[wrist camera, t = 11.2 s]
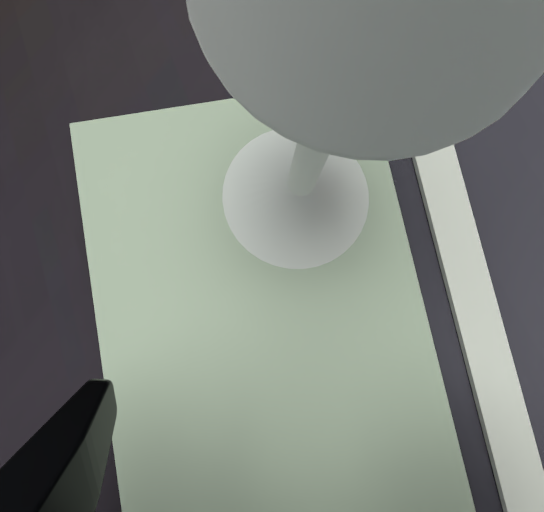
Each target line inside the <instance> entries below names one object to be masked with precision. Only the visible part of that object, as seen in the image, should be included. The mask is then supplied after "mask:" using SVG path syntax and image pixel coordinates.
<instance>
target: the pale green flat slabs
mask: <svg viewBox="0 0 544 512" xmlns="http://www.w3.org/2000/svg"><path fill="white" fill-rule="evenodd" d="M269 131H272V129H271V128H269V127H268V126H266V125H264V124H263V123H261V122H260V121H258V120H257V119H255V118H254V117H253V116H252V115H251V114H250V113H249V112H248V111H247V110H246V109H245V108H244V107H243V106H242V105H241V104H240V103H239V102H238V101H237V100H236V99H235V98H232V99H225V100H219V101H213V102H206V103H200V104H193V105H187V106H180V107H174V108H167V109H161V110H154V111H148V112H141V113H135V114H129V115H122V116H116V117H109V118H103V119H96V120H90V121H83V122H77V123H70V132H71V139H72V147H73V154H74V161H75V169H76V176H77V184H78V191H79V198H80V206H81V213H82V220H83V228H84V235H85V243H86V250H87V257H88V265H89V272H90V280H91V287H92V294H93V302H94V309H95V317H96V324H97V331H98V339H99V346H100V353H101V361H102V368H103V376H104V379H107V380H111V381H112V383H113V387H114V393H115V398H116V404H117V416H116V421H115V426H114V431H113V436H112V442H113V450H114V457H115V464H116V472H117V479H118V486H119V494H120V501H121V509H122V512H476V511H475V507H474V503H473V499H472V495H471V491H470V487H469V483H468V479H467V475H466V471H465V467H464V463H463V459H462V455H461V451H460V447H459V443H458V439H457V435H456V431H455V427H454V423H453V419H452V415H451V411H450V407H449V403H448V399H447V395H446V391H445V387H444V383H443V379H442V375H441V371H440V367H439V363H438V359H437V355H436V351H435V347H434V343H433V339H432V335H431V331H430V327H429V323H428V319H427V315H426V311H425V307H424V303H423V299H422V295H421V291H420V287H419V283H418V279H417V275H416V271H415V267H414V263H413V259H412V255H411V251H410V247H409V243H408V239H407V235H406V231H405V227H404V223H403V219H402V215H401V211H400V207H399V203H398V199H397V195H396V191H395V187H394V183H393V179H392V175H391V171H390V167H389V163H388V161H377V160H357V162H358V163H359V165H360V167H361V169H362V171H363V173H364V176H365V178H366V182H367V186H368V191H369V208H368V213H367V219H366V221H365V224H364V226H363V229H362V231H361V233H360V234H359V236H358V237H357V239H356V240H355V242H354V243H353V244H352V245H351V246H350V247H349V248H348V249H347V250H346V251H345V252H344V253H343V254H342V255H340V256H339V257H337V258H336V259H334V260H332V261H331V262H328V263H325V264H323V265H320V266H318V267H312V268H307V269H287V268H283V267H278V266H274V265H271V264H269V263H267V262H264V261H262V260H260V259H259V258H257V257H256V256H254V255H253V254H251V253H250V252H248V251H247V250H246V249H245V248H244V247H243V246H242V245H241V243H240V242H239V241H238V240H237V239H236V237H235V236H234V234H233V233H232V231H231V229H230V227H229V225H228V222H227V220H226V217H225V214H224V208H223V203H222V193H223V184H224V180H225V175H226V173H227V170H228V168H229V166H230V164H231V162H232V160H233V159H234V158H235V156H236V155H237V154H238V152H239V151H240V150H241V149H242V148H243V147H244V146H245V145H246V144H248V143H249V142H250V141H251V140H253V139H255V138H256V137H258V136H260V135H261V134H264V133H266V132H269ZM412 160H413V164H414V168H415V172H416V176H417V180H418V184H419V188H420V191H421V195H422V199H423V203H424V207H425V211H426V215H427V218H428V222H429V226H430V230H431V234H432V238H433V242H434V245H435V249H436V253H437V257H438V261H439V265H440V269H441V272H442V276H443V280H444V284H445V288H446V292H447V296H448V299H449V303H450V307H451V311H452V315H453V319H454V323H455V327H456V330H457V334H458V338H459V342H460V346H461V350H462V354H463V357H464V361H465V365H466V369H467V373H468V377H469V381H470V384H471V388H472V392H473V396H474V400H475V404H476V408H477V411H478V415H479V419H480V423H481V427H482V431H483V435H484V439H485V442H486V446H487V450H488V454H489V458H490V462H491V466H492V469H493V473H494V477H495V481H496V485H497V489H498V493H499V496H500V500H501V504H502V508H503V512H544V471H543V467H542V463H541V460H540V456H539V453H538V449H537V445H536V442H535V438H534V434H533V431H532V427H531V424H530V420H529V416H528V413H527V409H526V405H525V402H524V398H523V394H522V391H521V387H520V384H519V380H518V376H517V373H516V369H515V365H514V362H513V358H512V355H511V351H510V347H509V344H508V340H507V336H506V333H505V329H504V326H503V322H502V318H501V315H500V311H499V307H498V304H497V300H496V297H495V293H494V289H493V286H492V282H491V278H490V275H489V271H488V267H487V264H486V260H485V257H484V253H483V249H482V246H481V242H480V238H479V235H478V231H477V228H476V224H475V220H474V217H473V213H472V209H471V206H470V202H469V199H468V195H467V191H466V188H465V184H464V180H463V177H462V173H461V170H460V166H459V162H458V159H457V155H456V151H455V148H454V145H451V146H448V147H446V148H443V149H440V150H438V151H435V152H432V153H430V154H427V155H423V156H417V157H412Z"/></svg>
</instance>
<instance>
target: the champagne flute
mask: <svg viewBox="0 0 544 512" xmlns="http://www.w3.org/2000/svg"><path fill="white" fill-rule="evenodd" d="M186 4H187V9H188V15H189V20H190V22H191V25H192V27H193V30H194V32H195V35H196V37H197V39H198V42H199V44H200V47H201V49H202V52H203V54H204V55H205V57H206V59H207V61H208V63H209V65H210V66H211V67H212V69H213V70H214V72H215V73H216V75H217V76H218V78H219V79H220V81H221V82H222V84H223V85H224V87H225V88H226V90H227V91H228V92H229V93H230V94H231V95H232V96H233V97H234V98H235V99H236V100H237V101H238V102H239V103H240V104H241V105H242V106H243V107H244V108H245V109H246V110H247V111H248V112H249V113H250V114H251V115H252V116H253V117H254V118H255V119H257V120H258V121H260V122H261V123H263V124H264V125H266V126H268V127H269V128H271V129H272V131H269V132H266V133H264V134H261V135H260V136H258V137H256V138H255V139H253V140H251V141H250V142H249V143H248V144H246V145H245V146H244V147H243V148H242V149H241V150H240V151H239V152H238V154H237V155H236V156H235V158H234V159H233V160H232V162H231V164H230V166H229V168H228V170H227V173H226V175H225V180H224V184H223V193H222V203H223V208H224V214H225V217H226V220H227V222H228V225H229V227H230V229H231V231H232V233H233V234H234V236H235V237H236V239H237V240H238V241H239V242H240V243H241V245H242V246H243V247H244V248H245V249H246V250H247V251H248V252H250V253H251V254H253V255H254V256H256V257H257V258H259V259H260V260H262V261H264V262H267V263H269V264H271V265H274V266H278V267H283V268H287V269H307V268H312V267H318V266H320V265H323V264H325V263H328V262H331V261H332V260H334V259H336V258H337V257H339V256H340V255H342V254H343V253H344V252H345V251H346V250H347V249H348V248H349V247H350V246H351V245H352V244H353V243H354V242H355V240H356V239H357V237H358V236H359V234H360V233H361V231H362V229H363V226H364V224H365V221H366V219H367V213H368V208H369V191H368V186H367V182H366V178H365V176H364V173H363V171H362V169H361V167H360V165H359V163H358V162H357V160H377V161H393V160H399V159H405V158H411V157H417V156H423V155H427V154H430V153H432V152H435V151H438V150H440V149H443V148H446V147H448V146H451V145H454V144H456V143H459V142H461V141H463V140H466V139H468V138H471V137H472V136H474V135H475V134H477V133H478V132H480V131H481V130H483V129H485V128H486V127H488V126H489V125H491V124H492V123H494V122H495V121H497V120H499V119H500V118H501V117H502V116H503V115H504V114H505V113H506V112H507V111H508V110H509V109H510V108H511V107H512V106H513V105H514V104H515V103H516V102H517V101H518V100H519V99H520V98H521V97H522V96H523V95H524V94H525V93H526V92H527V91H528V90H529V88H530V87H531V86H532V85H533V84H534V83H535V82H536V81H537V80H538V78H539V77H540V76H541V75H542V74H543V73H544V0H186Z"/></svg>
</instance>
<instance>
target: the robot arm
mask: <svg viewBox="0 0 544 512" xmlns="http://www.w3.org/2000/svg"><path fill="white" fill-rule="evenodd" d="M116 416H117V404H116V398H115V393H114V387H113V383H112V381H111V380H107V379H91V380H89V381H87V382H86V383H85V384H84V385H83V386H82V387H81V388H80V389H79V390H78V391H77V392H76V393H75V394H74V395H73V396H72V397H71V398H70V399H69V400H68V401H67V402H66V403H65V404H64V405H63V406H62V407H61V408H60V409H59V410H58V411H57V412H56V413H55V414H54V415H53V416H52V417H51V418H50V419H49V420H48V421H47V422H46V423H45V424H44V425H43V426H42V427H41V428H40V429H39V430H38V431H37V432H36V433H35V434H34V435H33V436H32V437H31V438H30V439H29V440H28V441H27V442H26V443H25V444H24V445H23V446H22V447H21V448H20V449H19V450H18V451H17V452H16V453H15V454H14V455H13V456H12V457H11V458H10V459H9V460H8V461H7V462H6V463H5V464H4V465H3V466H2V467H1V468H0V512H95V509H96V506H97V502H98V499H99V496H100V491H101V487H102V483H103V478H104V473H105V469H106V464H107V459H108V454H109V450H110V445H111V440H112V436H113V431H114V426H115V421H116Z"/></svg>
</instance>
